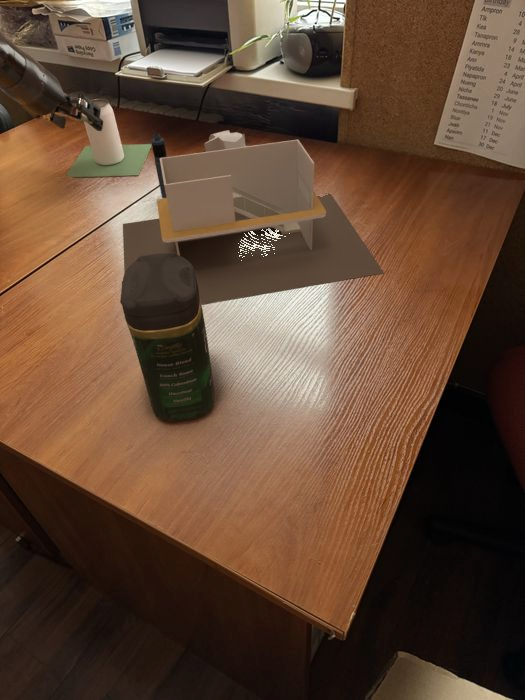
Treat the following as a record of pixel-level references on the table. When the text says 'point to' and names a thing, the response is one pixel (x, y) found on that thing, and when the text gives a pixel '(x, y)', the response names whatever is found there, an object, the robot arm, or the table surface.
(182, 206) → the architectural model
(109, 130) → the can
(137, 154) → the mat
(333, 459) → the table surface
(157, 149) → the vaping device
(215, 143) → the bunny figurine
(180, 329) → the coffee jar
